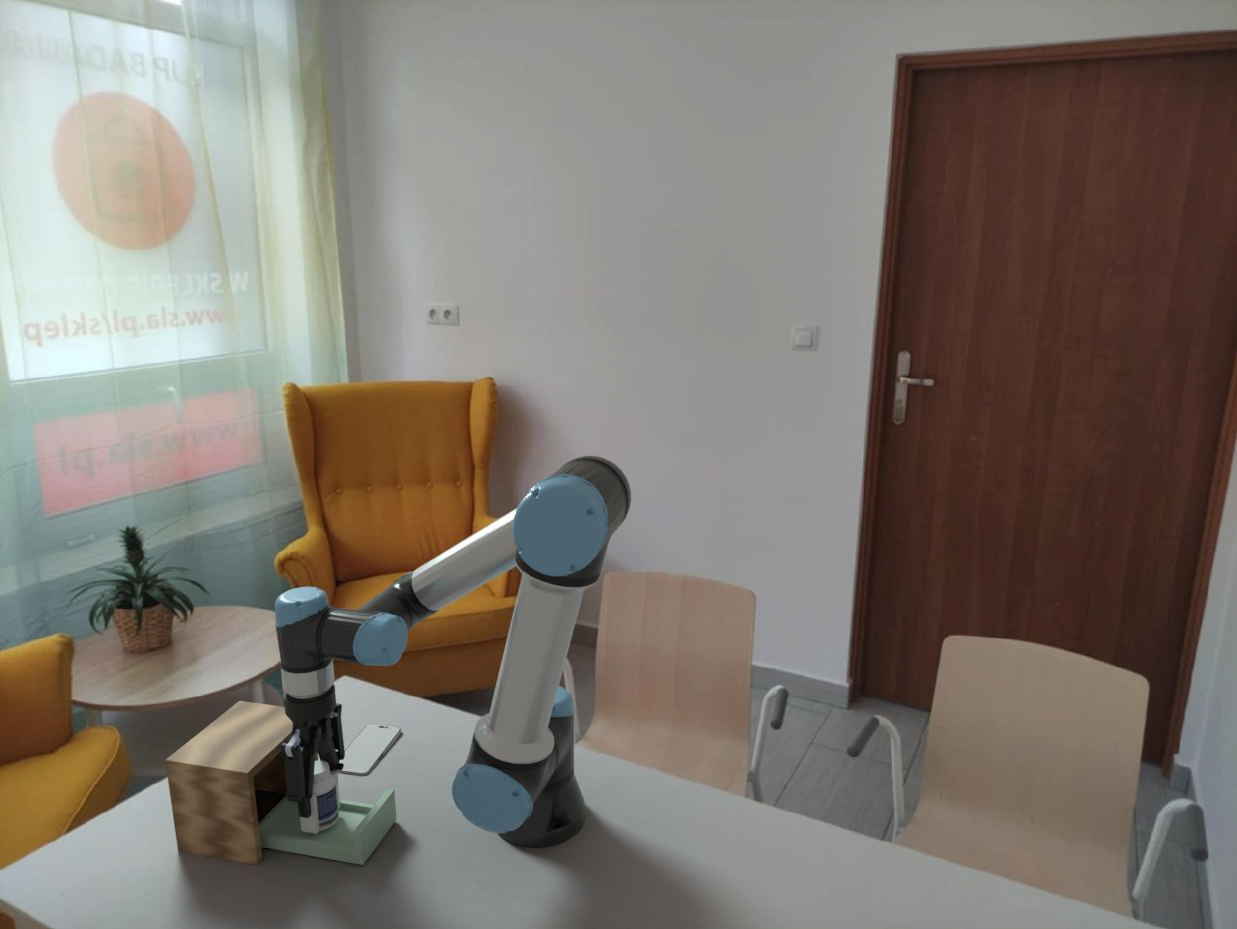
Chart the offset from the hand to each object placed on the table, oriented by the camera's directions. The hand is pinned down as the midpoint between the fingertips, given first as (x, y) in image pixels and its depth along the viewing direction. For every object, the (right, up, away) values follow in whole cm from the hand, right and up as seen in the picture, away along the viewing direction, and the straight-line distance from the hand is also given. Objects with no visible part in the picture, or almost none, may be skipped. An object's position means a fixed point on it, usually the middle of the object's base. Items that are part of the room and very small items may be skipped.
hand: (321, 818), depth 144 cm
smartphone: (+1, +3, +24) cm, 24 cm away
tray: (+1, -2, 0) cm, 3 cm away
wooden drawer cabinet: (-12, -2, +3) cm, 13 cm away
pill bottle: (0, -1, 0) cm, 1 cm away
